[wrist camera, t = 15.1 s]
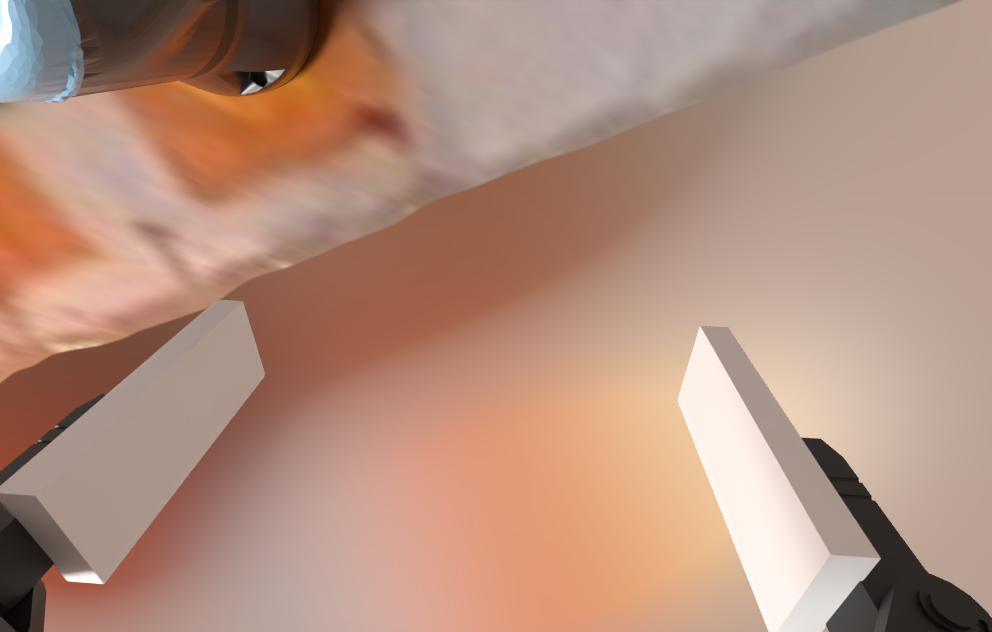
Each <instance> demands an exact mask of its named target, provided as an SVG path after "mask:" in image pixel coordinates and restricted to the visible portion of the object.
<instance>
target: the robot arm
mask: <svg viewBox="0 0 992 632" xmlns="http://www.w3.org/2000/svg"><path fill="white" fill-rule="evenodd" d="M318 13H319V9H318V0H0V102H43V103H48V102H50V103H54V102H59V101H66V100H67V99H68V98H70V97H76V96H82V95H89V94H95V93H102V92H108V91H114V90H121V89H127V88H134V87H140V86H147V85H153V84H159V83H166V82H172V81H180V82H183V83H186V84H189V85H191V86H194V87H197V88H199V89H202V90H205V91H208V92H211V93H215V94H219V95H226V96H249V95H255V94H259V93H264V92H268V91H271V90H274V89H276V88H278V87H280V86H282V85H284V84H285V83H287V82H288V81H289V80H291V79H292V78H293V77H294V76H295V75H296V74H297V73H298V72H299V71H300V69H301V68H302V67H303V65H304V64H305V62H306V60H307V59H308V57H309V54H310V52H311V50H312V47H313V44H314V41H315V37H316V32H317V26H318ZM264 376H265V373H264V369H263V366H262V363H261V360H260V357H259V353H258V350H257V347H256V343H255V340H254V337H253V333H252V330H251V327H250V324H249V320H248V317H247V314H246V311H245V307H244V304H243V301H230V300H216V301H215V302H214V303H213V304H212V305H210V306H209V307H208V308H207V309H206V310H205V311H203V312H202V313H201V314H200V315H199V316H198V317H196V318H195V319H194V320H193V321H192V322H191V323H189V324H188V325H187V326H186V327H185V328H184V329H182V331H180V332H179V333H178V334H177V335H175V336H174V337H173V338H172V339H171V340H170V341H169V342H167V343H166V344H165V345H164V346H163V347H161V348H160V349H159V350H158V351H157V352H156V353H155V354H153V355H152V356H151V357H150V358H149V359H147V360H146V361H145V362H144V363H143V364H142V365H141V366H139V367H138V368H137V369H136V370H135V371H134V372H133V373H131V374H130V375H129V376H128V377H127V378H126V379H124V380H123V381H122V382H121V383H120V384H118V385H117V386H116V387H115V388H114V389H113V390H111V391H110V392H109V393H108V394H107V395H104V394H102V395H100V396H98V397H96V398H95V399H93V400H91V401H89V402H87V403H85V404H84V405H82V406H80V407H78V408H76V409H75V410H74V411H73V412H71V413H70V414H69V415H68V416H66V417H65V418H64V419H63V420H62V421H61V422H59V423H58V424H57V425H56V426H55V429H54V430H50V431H48V432H47V433H46V434H45V435H44V436H42V437H41V438H40V439H39V440H38V443H37V444H33V445H32V446H31V447H29V448H28V449H27V450H26V451H24V452H23V453H22V454H21V455H20V456H19V457H17V458H16V459H15V460H14V461H12V462H11V463H10V464H9V465H8V466H6V467H5V468H4V469H3V470H2V471H0V632H43V631H44V617H45V603H46V589H45V585H44V583H43V582H42V581H41V578H42V577H43V575H44V574H45V573H46V572H47V571H48V570H49V569H50V568H51V566H52V565H53V564H54V566H55V567H56V568H57V569H58V570H59V572H60V573H61V574H62V575H63V576H64V577H65V578H66V580H67V581H73V582H85V583H97V584H104V583H105V582H106V581H107V580H108V578H109V577H110V576H111V574H112V573H113V572H114V571H115V569H116V568H117V567H118V565H119V564H120V563H121V561H122V560H123V559H124V558H125V556H126V555H127V554H128V552H129V551H130V550H131V549H132V547H133V546H134V545H135V543H136V542H137V541H138V539H139V538H140V537H141V536H142V534H143V533H144V532H145V530H146V529H147V528H148V527H149V525H150V524H151V523H152V521H153V520H154V519H155V517H156V516H157V515H158V514H159V512H160V511H161V510H162V508H163V507H164V506H165V504H166V503H167V502H168V500H169V499H170V498H171V497H172V495H173V494H174V493H175V491H176V490H177V489H178V487H179V486H180V485H181V484H182V482H183V481H184V480H185V478H186V477H187V476H188V475H189V473H190V472H191V470H192V469H193V468H194V467H195V466H196V464H197V463H198V462H199V460H200V459H201V457H203V455H204V454H205V452H206V451H207V450H208V449H209V447H210V446H211V445H212V444H213V442H214V441H215V440H216V438H217V437H218V436H219V434H220V433H221V432H222V431H223V429H224V428H225V426H226V425H227V424H228V423H229V421H230V420H231V419H232V417H233V416H234V415H235V414H236V412H237V411H238V410H239V408H240V407H241V406H242V405H243V403H244V402H245V401H246V399H247V398H248V397H249V395H250V394H251V393H252V392H253V390H254V389H255V388H256V386H257V385H258V384H259V382H260V381H261V380H262V379H263V377H264ZM678 403H679V405H680V408H681V410H682V413H683V415H684V418H685V421H686V423H687V425H688V428H689V431H690V433H691V435H692V438H693V441H694V443H695V446H696V448H697V451H698V453H699V456H700V459H701V461H702V464H703V466H704V469H705V471H706V474H707V476H708V479H709V481H710V484H711V486H712V489H713V492H714V494H715V497H716V499H717V502H718V504H719V507H720V509H721V512H722V514H723V517H724V519H725V522H726V524H727V527H728V530H729V532H730V535H731V537H732V540H733V542H734V545H735V547H736V550H737V552H738V555H739V557H740V560H741V563H742V565H743V568H744V570H745V573H746V575H747V578H748V580H749V583H750V585H751V588H752V590H753V593H754V595H755V598H756V600H757V603H758V606H759V608H760V611H761V613H762V616H763V618H764V621H765V623H766V626H767V628H768V631H769V632H822V631H823V630H824V628H825V627H826V626H827V628H828V630H829V632H992V618H991V617H990V616H989V614H988V613H987V612H986V611H985V610H984V609H983V608H982V607H981V606H980V605H979V604H978V603H977V602H976V601H975V600H974V599H973V598H972V597H971V596H970V595H968V594H967V593H965V592H964V591H962V590H960V589H959V588H957V587H956V586H955V585H953V584H952V583H950V582H947V581H945V580H943V579H941V578H939V577H936V576H934V575H932V574H929V573H928V572H927V571H926V570H925V569H924V567H923V566H922V565H921V563H920V562H919V560H918V559H917V558H916V556H915V555H914V554H913V552H912V551H911V550H910V548H909V547H908V546H907V544H906V543H905V541H904V540H903V539H902V538H901V536H900V534H899V533H898V532H897V531H896V529H895V528H894V526H893V525H892V523H891V522H890V521H889V520H888V518H887V517H886V515H885V514H884V513H883V511H882V510H881V508H880V507H879V506H878V504H877V503H876V502H875V501H872V499H871V495H870V494H869V492H868V491H867V489H866V488H865V487H864V485H863V484H862V483H859V481H858V480H859V478H858V477H857V476H856V474H855V473H854V471H853V470H852V469H851V467H850V466H849V465H848V463H847V462H846V460H845V459H844V458H843V457H842V456H841V455H840V454H838V453H837V452H836V451H835V450H834V449H832V448H831V447H830V446H829V445H828V444H826V443H825V442H824V441H823V440H821V439H814V438H801V437H800V435H799V434H798V432H797V431H796V429H795V428H794V426H793V425H792V423H791V422H790V420H789V419H788V417H787V416H786V414H785V413H784V411H783V410H782V408H781V407H780V405H779V404H778V402H777V401H776V399H775V398H774V396H773V395H772V393H771V392H770V390H769V388H768V387H767V386H766V384H765V382H764V381H763V379H762V378H761V376H760V375H759V373H758V372H757V370H756V369H755V367H754V366H753V364H752V363H751V361H750V360H749V358H748V357H747V355H746V354H745V352H744V351H743V349H742V348H741V346H740V345H739V343H738V342H737V340H736V339H735V337H734V336H733V334H732V333H731V331H730V330H729V328H728V327H710V326H700V328H699V332H698V335H697V338H696V341H695V345H694V348H693V351H692V354H691V358H690V361H689V364H688V368H687V371H686V374H685V377H684V381H683V384H682V387H681V390H680V394H679V397H678Z"/></svg>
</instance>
